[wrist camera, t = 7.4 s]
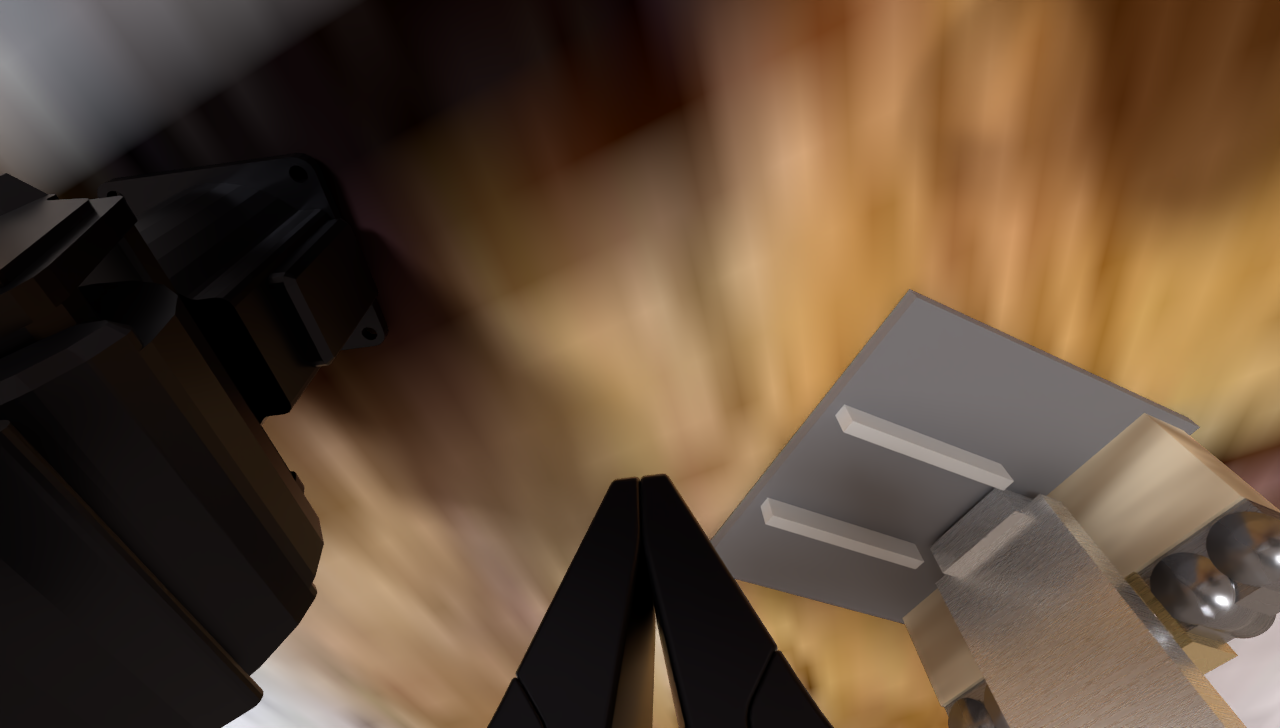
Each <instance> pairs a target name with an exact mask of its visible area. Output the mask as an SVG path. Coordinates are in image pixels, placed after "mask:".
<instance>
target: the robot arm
mask: <svg viewBox="0 0 1280 728" xmlns="http://www.w3.org/2000/svg"><path fill="white" fill-rule="evenodd" d="M295 166H300V167H302V168H303V169H304V170H305V171H306V172H307V175H308V179H304V178H302V177H300V176H299V175H298V174H297V173H296V170H295ZM116 191H117V192H119V193H120V194H122V195H123V196H124V197H125V199H126V201H125V199H124V197H123V196H117V193H116ZM98 197H99V199H92V200H88V199H85V198H83V199H66V200H59V199H58V197H57V196H56V194H51V195H48V194H46V193H44V192H42V191H40V190H38V189H36V188H34V187H32V186H30V185H29V184H27V183H25V182H23V181H21V180H19V179H17V178H15V177H13V176H11V175H9V174H7V173H5V174H0V728H221V727H223V726H225V725H226V724H228V723H229V722H231V721H233V720H234V719H236V718H238V717H239V716H241V715H242V714H244V713H246V712H247V711H249V710H251V709H252V708H254V707H255V706H256V705H257V704H258V703H259V702H260V701H261V699H262V697H263V690H262V689H261V688H260V687H259V686H258V685H257V684H256V682H255V681H254V680H253V679H252V678H251V677H250V675H251V674H252V673H254V672H255V671H256V670H257V669H258V668H260V667H261V665H262V664H263V663H264V662H265V661H266V660H267V659H268V658H269V657H270V656H271V654H272V653H273V652H274V651H275V650H276V649H277V648H278V647H279V646H280V644H281V643H282V642H283V641H284V640H285V639H286V638H287V637H288V636H289V635H290V633H291V632H292V631H293V630H294V629H295V628H296V627H297V626H298V624H299V623H300V621H301V620H302V618H303V617H304V615H305V613H306V612H307V610H308V609H309V607H310V606H311V604H312V602H313V601H314V599H315V597H316V594H317V589H316V587H315V585H314V584H313V580H314V578H315V576H316V572H317V568H318V564H319V560H320V556H321V552H322V549H323V545H324V542H323V537H322V532H321V527H320V521H319V518H318V516H317V514H316V513H315V511H314V510H313V508H312V507H311V505H310V503H309V502H308V500H307V499H306V497H305V495H304V485H303V483H302V482H301V480H300V479H299V477H298V475H297V474H296V473H295V472H294V471H290V470H289V469H288V467H287V465H286V464H285V462H284V461H283V459H282V457H281V456H280V454H279V453H278V451H277V450H276V448H275V446H274V445H273V443H272V442H271V440H270V439H269V437H268V435H267V434H266V432H265V431H264V429H263V427H262V426H261V425H262V424H263V423H264V421H265V420H266V419H267V417H268V416H273V415H281V414H286V413H288V412H290V411H291V409H292V408H293V406H294V405H295V403H296V402H297V400H298V399H299V398H300V396H301V395H302V393H303V392H304V390H305V389H306V388H307V386H308V385H309V383H310V382H311V380H312V379H313V377H314V376H315V375H316V373H317V372H318V370H319V369H320V367H321V366H327V365H330V364H331V363H332V362H333V361H334V359H335V358H336V356H337V355H338V353H339V352H340V350H346V349H354V348H362V347H370V346H376V345H379V344H381V343H382V342H383V341H384V339H385V337H386V336H387V333H388V327H387V324H386V322H385V319H384V317H383V314H382V312H381V310H380V307H379V305H378V303H377V300H376V297H377V295H378V290H377V288H376V285H375V283H374V280H373V278H372V276H371V273H370V271H369V268H368V266H367V264H366V261H365V259H364V256H363V254H362V252H361V249H360V247H359V244H358V242H357V240H356V237H355V235H354V232H353V230H352V228H351V226H350V224H348V223H347V222H346V221H345V220H343V219H342V217H341V215H340V213H339V210H338V208H337V206H336V203H335V201H334V198H333V196H332V194H331V191H330V189H329V187H328V184H327V182H326V180H325V177H324V175H323V172H322V170H321V168H320V166H319V165H318V163H317V162H316V161H315V160H314V159H313V158H312V157H310V156H308V155H306V154H302V153H294V154H287V155H280V156H273V157H266V158H258V159H251V160H244V161H237V162H230V163H222V164H215V165H208V166H201V167H194V168H186V169H179V170H172V171H165V172H158V173H150V174H143V175H136V176H129V177H121V178H115V179H113V180H110V181H108V182H106V183H103V184H101V185H100V186H99V188H98ZM366 327H369V328H372V329H374V330H375V331H376V332H377V334H372V333H370V332H368V330H367V329H366ZM655 613H656V619H657V624H658V630H659V635H660V640H661V645H662V650H663V654H664V659H665V664H666V668H667V673H668V678H669V683H670V687H671V692H672V697H673V702H674V706H675V711H676V716H677V720H678V725H679V728H834V727H833V726H832V725H831V723H830V722H829V721H828V720H827V718H826V717H825V716H824V714H823V713H822V712H821V710H820V709H819V707H818V706H817V705H816V703H815V702H814V700H813V699H812V697H811V696H810V694H809V693H808V691H807V690H806V688H805V687H804V686H803V684H802V683H801V681H800V680H799V678H798V677H797V675H796V674H795V672H794V671H793V669H792V668H791V666H790V664H789V663H788V661H787V660H786V658H785V657H784V655H783V654H782V652H781V651H779V650H778V651H777V645H776V643H775V642H774V640H773V638H772V637H771V635H770V634H769V632H768V631H767V629H766V628H765V626H764V624H763V623H762V621H761V620H760V618H759V617H758V615H757V614H756V612H755V610H754V609H753V607H752V606H751V604H750V603H749V601H748V599H747V598H746V596H745V595H744V593H743V592H742V590H741V589H740V587H739V585H738V584H737V582H736V581H735V579H734V578H733V576H732V574H731V573H730V571H729V570H728V568H727V567H726V565H725V564H724V562H723V560H722V559H721V557H720V556H719V554H718V553H717V551H716V550H715V548H714V546H713V545H712V543H711V542H710V540H709V539H708V537H707V535H706V534H705V532H704V531H703V529H702V528H701V526H700V525H699V523H698V521H697V520H696V518H695V517H694V515H693V514H692V512H691V511H690V509H689V507H688V506H687V504H686V503H685V501H684V500H683V498H682V496H681V495H680V493H679V492H678V490H677V489H676V487H675V486H674V484H673V482H672V481H671V479H670V478H669V477H668V476H667V475H666V474H656V475H647V476H643V477H642V478H641V482H640V479H639V478H637V477H629V478H621V479H615V480H614V481H613V482H612V483H611V485H610V487H609V489H608V491H607V493H606V495H605V497H604V499H603V501H602V503H601V505H600V507H599V509H598V511H597V512H596V514H595V516H594V518H593V520H592V522H591V524H590V526H589V528H588V530H587V532H586V534H585V536H584V538H583V540H582V542H581V544H580V546H579V548H578V550H577V552H576V554H575V556H574V558H573V560H572V562H571V564H570V566H569V568H568V570H567V572H566V574H565V576H564V578H563V580H562V582H561V584H560V586H559V588H558V590H557V592H556V594H555V596H554V598H553V600H552V602H551V604H550V606H549V608H548V610H547V612H546V614H545V616H544V618H543V620H542V622H541V624H540V626H539V628H538V630H537V632H536V634H535V635H534V637H533V639H532V641H531V643H530V645H529V647H528V649H527V651H526V653H525V655H524V657H523V659H522V661H521V663H520V665H519V667H518V669H517V671H516V676H517V678H513V679H512V681H511V683H510V685H509V687H508V689H507V691H506V693H505V695H504V697H503V698H502V700H501V702H500V704H499V706H498V708H497V710H496V712H495V714H494V716H493V718H492V719H491V721H490V723H489V725H488V727H487V728H652V720H653V689H654V658H655Z"/></svg>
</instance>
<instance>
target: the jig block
mask: <svg viewBox="0 0 1280 728" xmlns="http://www.w3.org/2000/svg"><path fill="white" fill-rule="evenodd" d="M1047 496H1048V497H1050V498H1053V499H1056V500H1058V501H1061V502H1062V503H1063V505H1064V506H1065V507H1066V508H1067V510H1068V511H1069V512H1070V513H1071V514H1072V516H1073V517H1074V518H1075V519H1076V520H1077V522H1078V523H1079V524H1080V525H1081V527H1082V528H1083V529H1084V530H1085V531H1086V533H1087V534H1088V535H1089V536H1090V538H1091V539H1092V540H1093V541H1094V542H1095V544H1096V545H1097V546H1098V547H1099V548H1100V550H1101V551H1102V552H1103V553H1104V555H1105V556H1106V557H1107V558H1108V559H1109V561H1110V562H1111V563H1112V564H1113V566H1114V567H1115V568H1116V569H1117V570H1118V572H1119V573H1120V574H1121V575H1122V576H1123V578H1125V577H1127V576H1128V575H1129V574H1131V573H1132V572H1136V573H1138V572H1139V571H1141V570H1142V569H1143V568H1145V567H1146V566H1148V565H1149V564H1151V563H1152V562H1153V561H1155V560H1156V559H1158V558H1159V557H1161V556H1162V555H1164V554H1165V553H1166V552H1168V551H1169V550H1171V549H1172V548H1174V547H1175V546H1176V545H1178V544H1179V543H1181V542H1182V541H1184V540H1185V539H1187V538H1188V537H1189V536H1191V535H1192V534H1194V533H1195V532H1197V531H1198V530H1199V529H1201V528H1202V527H1204V526H1205V525H1207V524H1208V523H1210V522H1211V521H1212V520H1214V519H1215V518H1217V517H1218V516H1220V515H1221V514H1223V513H1224V512H1225V511H1227V510H1228V509H1230V508H1231V507H1233V506H1234V505H1235V504H1237V503H1238V502H1240V501H1241V500H1243V499H1244V498H1246V499H1249V500H1251V501H1254V502H1256V503H1258V504H1261V505H1263V506H1265V507H1268V508H1270V509H1272V510H1275V511H1277V512H1280V510H1278V509H1277V508H1276V507H1275V506H1274V505H1272V504H1271V503H1270V502H1269V501H1268V500H1266V499H1265V498H1264V497H1263V496H1262V495H1260V494H1259V493H1258V492H1257V491H1256V490H1254V489H1253V488H1252V487H1251V486H1250V485H1248V484H1247V483H1246V482H1245V481H1244V480H1242V479H1241V478H1240V477H1239V476H1238V475H1236V474H1235V473H1234V472H1233V471H1232V470H1230V469H1229V468H1228V467H1227V466H1226V465H1224V464H1223V463H1222V462H1221V461H1220V460H1218V459H1217V458H1216V457H1215V456H1214V455H1212V454H1211V453H1210V452H1209V451H1208V450H1206V449H1205V448H1204V447H1203V446H1202V445H1200V444H1199V443H1198V442H1197V441H1196V440H1194V439H1193V438H1192V437H1191V436H1190V435H1188V434H1187V433H1186V432H1185V431H1184V430H1181V429H1179V428H1177V427H1175V426H1173V425H1170V424H1168V423H1166V422H1164V421H1162V420H1159V419H1157V418H1155V417H1153V416H1150V415H1148V414H1146V413H1143V414H1142V415H1141V416H1140V417H1139V418H1138V419H1136V420H1135V421H1134V422H1133V423H1132V424H1131V425H1129V426H1128V427H1127V428H1126V429H1125V430H1123V431H1122V432H1121V433H1120V434H1119V435H1118V436H1116V437H1115V438H1114V439H1113V440H1112V441H1110V442H1109V443H1108V444H1107V445H1106V446H1105V447H1103V448H1102V449H1101V450H1100V451H1099V452H1098V453H1096V454H1095V455H1094V456H1093V457H1092V458H1090V459H1089V460H1088V461H1087V462H1086V463H1085V464H1083V465H1082V466H1081V467H1080V468H1079V469H1077V470H1076V471H1075V472H1074V473H1073V474H1072V475H1070V476H1069V477H1068V478H1067V479H1066V480H1064V481H1063V482H1062V483H1061V484H1060V485H1059V486H1057V487H1056V488H1055V489H1054V490H1053V491H1052V492H1050V493H1049V494H1048V495H1047ZM902 619H903V621H904V623H905V625H906V628H907V630H908V632H909V635H910V637H911V639H912V641H913V644H914V646H915V648H916V651H917V653H918V655H919V657H920V660H921V662H922V664H923V666H924V669H925V671H926V673H927V676H928V678H929V680H930V682H931V685H932V687H933V689H934V692H935V694H936V696H937V698H938V701H939V703H940V705H941V706H942V707H945V706H946V705H948V704H949V703H951V702H952V701H953V700H955V699H956V698H958V697H959V696H961V695H962V694H964V693H965V692H966V691H968V690H969V689H971V688H972V687H974V686H975V685H976V684H978V683H979V682H981V681H982V680H984V679H985V678H984V677H983V675H982V673H981V671H980V669H979V667H978V665H977V663H976V661H975V659H974V657H973V655H972V653H971V651H970V649H969V647H968V646H967V644H966V642H965V640H964V638H963V636H962V634H961V632H960V630H959V628H958V626H957V624H956V622H955V620H954V618H953V616H952V615H951V613H950V611H949V609H948V607H947V605H946V603H945V601H944V599H943V597H942V595H941V593H940V591H939V589H938V588H937V589H936V590H935V591H934V592H932V593H931V594H930V595H929V596H928V597H927V598H925V599H924V600H923V601H922V602H921V603H919V604H918V605H917V606H916V607H915V608H914V609H912V610H911V611H910V612H909V613H908V614H907V615H905V616H904V617H903V618H902Z"/></svg>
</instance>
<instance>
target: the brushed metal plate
mask: <svg viewBox="0 0 1280 728" xmlns="http://www.w3.org/2000/svg"><path fill="white" fill-rule="evenodd" d="M929 548H930V550H931V552H932V554H933V556H934V557H935V559H936V561H937V563H938V565H939V567H940V569H941V570H942V572H943V573H944V574H946V575H944V576H943V577H942V578H941V579H940V580H939V581H937V582H936V583H935V584H936V585H937V587H938V589H939V591H940V593H941V595H942V597H943V599H944V601H945V603H946V605H947V607H948V609H949V611H950V613H951V615H952V616H953V618H954V620H955V622H956V624H957V626H958V628H959V630H960V632H961V634H962V636H963V638H964V640H965V642H966V644H967V646H968V647H969V649H970V651H971V653H972V655H973V657H974V659H975V661H976V663H977V665H978V667H979V669H980V671H981V673H982V675H983V677H984V678H985V680H986V682H987V684H988V686H989V688H990V690H991V692H992V694H993V696H994V698H995V700H996V702H997V704H998V706H999V708H1000V709H1001V711H1002V713H1003V715H1004V717H1005V719H1006V721H1007V723H1008V725H1009V727H1010V728H1246V726H1245V725H1244V724H1243V723H1242V721H1241V720H1240V719H1239V718H1238V717H1237V715H1236V714H1235V713H1234V712H1233V710H1232V709H1231V708H1230V707H1229V706H1228V704H1227V703H1226V702H1225V701H1224V700H1223V698H1222V697H1221V696H1220V695H1219V693H1218V692H1217V691H1216V690H1215V689H1214V687H1213V686H1212V685H1211V684H1210V682H1209V681H1208V680H1207V679H1206V678H1205V676H1204V675H1203V674H1202V673H1201V671H1200V670H1199V669H1198V668H1197V667H1196V665H1195V664H1194V663H1193V662H1192V661H1191V659H1190V658H1189V657H1188V656H1187V654H1186V653H1185V652H1184V651H1183V650H1182V648H1181V647H1180V646H1179V645H1178V643H1177V642H1176V641H1175V640H1174V639H1173V635H1172V634H1171V633H1170V632H1169V631H1168V629H1167V628H1166V627H1165V626H1164V625H1163V623H1162V622H1161V621H1160V620H1159V618H1157V617H1155V615H1154V614H1153V613H1152V612H1151V611H1150V609H1149V608H1148V607H1147V606H1146V605H1145V603H1144V602H1143V601H1142V600H1141V598H1140V597H1139V596H1138V595H1137V594H1136V592H1135V591H1134V590H1133V589H1132V587H1131V586H1130V585H1129V584H1128V583H1127V581H1126V580H1125V579H1124V578H1123V576H1122V575H1121V574H1120V573H1119V572H1118V570H1117V569H1116V568H1115V567H1114V566H1113V564H1112V563H1111V562H1110V561H1109V559H1108V558H1107V557H1106V556H1105V555H1104V553H1103V552H1102V551H1101V550H1100V548H1099V547H1098V546H1097V545H1096V544H1095V542H1094V541H1093V540H1092V539H1091V538H1090V536H1089V535H1088V534H1087V533H1086V531H1085V530H1084V529H1083V528H1082V527H1081V525H1080V524H1079V523H1078V522H1077V520H1076V519H1075V518H1074V517H1073V516H1072V514H1071V513H1070V512H1069V511H1068V510H1067V508H1066V507H1065V506H1064V505H1063V503H1062V502H1061V501H1058V500H1056V499H1053V498H1050V497H1048V496H1045V495H1042V494H1039V495H1038V496H1037V497H1035V498H1034V499H1031V498H1029V497H1026V496H1023V495H1021V494H1018V493H1015V492H1012V491H1010V490H1007V489H1005V490H1004V491H1003V490H1000V489H997V488H994V489H993V490H992V491H991V492H990V493H989V494H988V495H987V496H986V497H984V498H983V499H982V500H981V501H980V502H979V503H978V504H977V505H976V506H975V507H973V508H972V509H971V510H970V511H969V512H968V513H967V514H966V515H965V516H963V517H962V518H961V519H960V520H959V521H958V522H957V523H956V524H955V525H954V526H952V527H951V528H950V529H949V530H948V531H947V532H946V533H945V534H944V535H943V536H941V537H940V538H939V539H938V540H937V541H936V542H935V543H934V544H933V545H932V546H930V547H929Z"/></svg>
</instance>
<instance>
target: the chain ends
mask: <svg viewBox="0 0 1280 728" xmlns="http://www.w3.org/2000/svg"><path fill="white" fill-rule="evenodd" d="M1124 579H1125V580H1126V581H1127V583H1128V584H1129V585H1130V586H1131V587H1132V589H1133V590H1134V591H1135V592H1136V594H1137V595H1138V596H1139V597H1140V598H1141V600H1142V601H1143V602H1144V603H1145V605H1146V606H1147V607H1148V608H1149V609H1150V611H1151V612H1152V613H1153V614H1155V615H1156V616H1157V617H1158V618H1159V620H1160V621H1161V622H1162V623H1163V625H1164V626H1165V627H1166V628H1167V629H1168V631H1169V632H1170V633H1171V634H1172V635H1173V639H1174V640H1175V641H1176V642H1177V643H1178V645H1179V646H1180V647H1181V648H1182V650H1183V651H1184V652H1185V653H1186V654H1187V656H1188V657H1189V658H1190V659H1191V661H1192V662H1193V663H1194V664H1195V665H1196V667H1197V668H1198V669H1199V670H1200V671H1201V673H1202V674H1203V675H1204V674H1206V673H1208V672H1209V671H1211V670H1213V669H1215V668H1217V667H1218V666H1220V665H1222V664H1224V663H1226V662H1227V661H1229V660H1231V659H1233V658H1235V657H1236V656H1238V655H1237V654H1236V653H1235V652H1234V651H1233V650H1232V648H1231V647H1230V646H1229V645H1228V644H1227V642H1228V641H1230V640H1232V639H1234V638H1251V637H1255V636H1258V635H1260V634H1262V633H1264V632H1265V631H1267V630H1268V629H1269V628H1270V627H1271V625H1272V624H1273V622H1274V620H1275V617H1276V614H1277V613H1279V612H1280V512H1277V511H1275V510H1272V509H1270V508H1268V507H1265V506H1263V505H1261V504H1258V503H1256V502H1254V501H1251V500H1249V499H1246V498H1244V499H1243V500H1241V501H1240V502H1238V503H1237V504H1235V505H1234V506H1233V507H1231V508H1230V509H1228V510H1227V511H1225V512H1224V513H1223V514H1221V515H1220V516H1218V517H1217V518H1215V519H1214V520H1212V521H1211V522H1210V523H1208V524H1207V525H1205V526H1204V527H1202V528H1201V529H1199V530H1198V531H1197V532H1195V533H1194V534H1192V535H1191V536H1189V537H1188V538H1187V539H1185V540H1184V541H1182V542H1181V543H1179V544H1178V545H1176V546H1175V547H1174V548H1172V549H1171V550H1169V551H1168V552H1166V553H1165V554H1164V555H1162V556H1161V557H1159V558H1158V559H1156V560H1155V561H1153V562H1152V563H1151V564H1149V565H1148V566H1146V567H1145V568H1143V569H1142V570H1141V571H1139V572H1138V573H1136V572H1132V573H1131V574H1129V575H1128V576H1127V577H1125V578H1124ZM944 708H945V710H946V712H947V714H948V717H949V719H948V726H949V728H1010V727H1009V725H1008V723H1007V721H1006V719H1005V717H1004V715H1003V713H1002V711H1001V709H1000V708H999V706H998V704H997V702H996V700H995V698H994V696H993V694H992V692H991V690H990V688H989V686H988V684H987V682H986V680H985V679H984V680H982V681H981V682H979V683H978V684H976V685H975V686H974V687H972V688H971V689H969V690H968V691H966V692H965V693H964V694H962V695H961V696H959V697H958V698H956V699H955V700H953V701H952V702H951V703H949V704H948V705H946V706H945V707H944Z"/></svg>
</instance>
